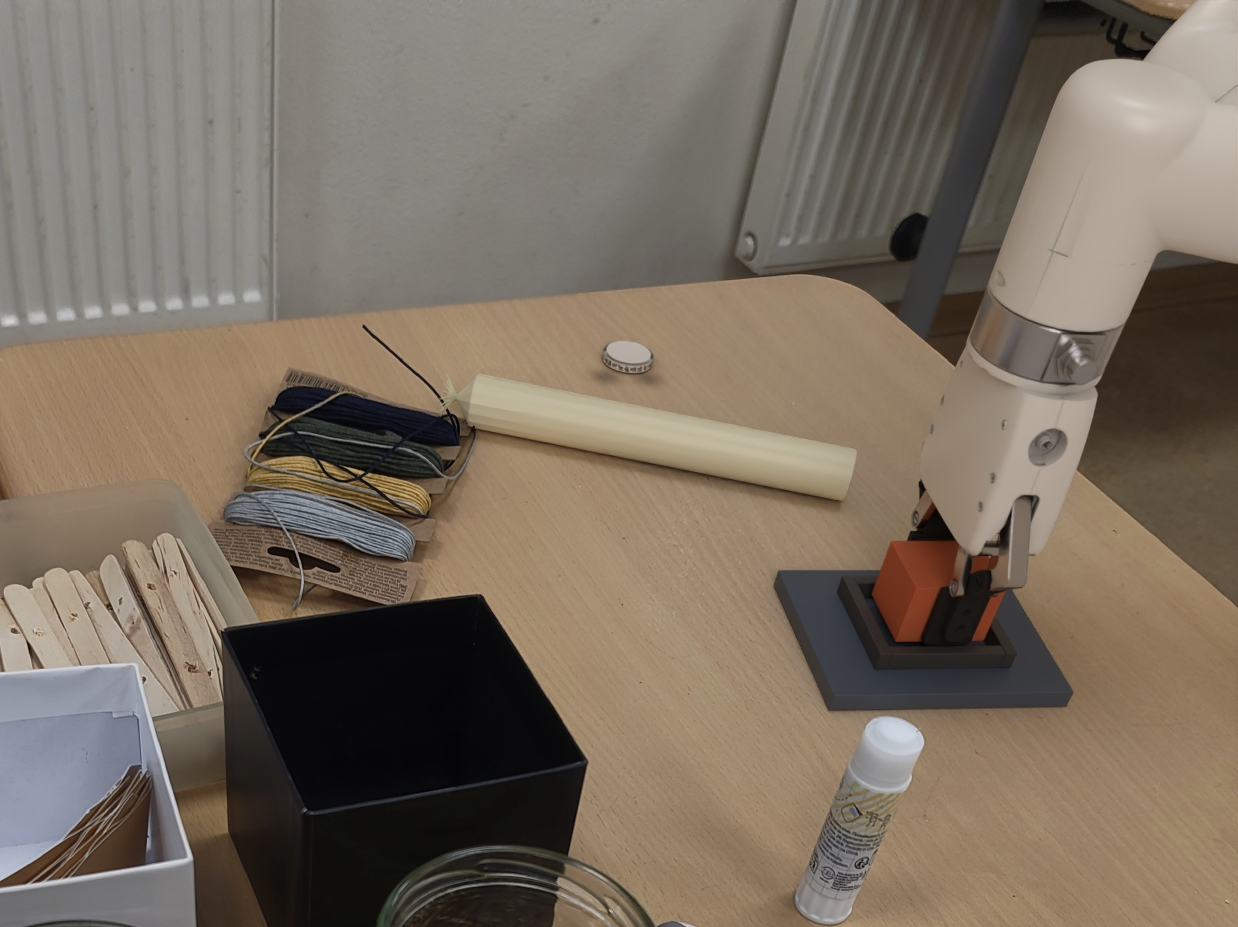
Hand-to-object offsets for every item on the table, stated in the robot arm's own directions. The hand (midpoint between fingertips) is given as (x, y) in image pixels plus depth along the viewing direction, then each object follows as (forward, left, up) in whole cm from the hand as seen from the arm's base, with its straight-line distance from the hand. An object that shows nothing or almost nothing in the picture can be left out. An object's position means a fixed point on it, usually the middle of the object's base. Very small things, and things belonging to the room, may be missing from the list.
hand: (930, 612), depth 93 cm
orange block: (0, 0, 0) cm, 0 cm away
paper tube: (+14, -22, -3) cm, 26 cm away
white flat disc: (+12, -36, -3) cm, 38 cm away
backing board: (0, 0, -3) cm, 3 cm away
